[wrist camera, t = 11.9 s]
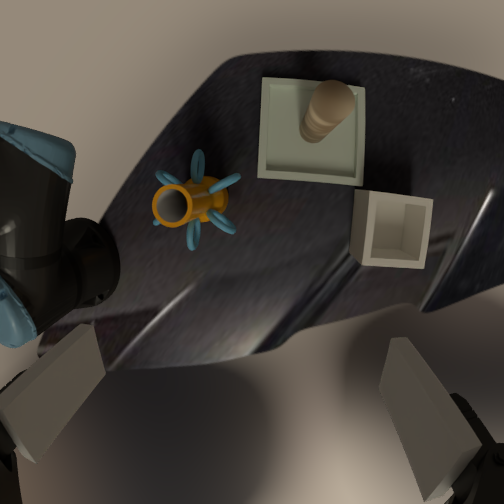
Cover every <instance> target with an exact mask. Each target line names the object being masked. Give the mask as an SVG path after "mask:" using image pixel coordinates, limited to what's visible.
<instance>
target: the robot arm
mask: <svg viewBox="0 0 504 504" xmlns="http://www.w3.org/2000/svg"><path fill="white" fill-rule="evenodd" d="M75 158H76V152H75V148H74V146H73V145H72V143H70V142H69V141H67V140H64V139H62V138H59V137H56V136H53V135H50V134H46V133H43V132H40V131H37V130H33V129H30V128H26V127H22V126H18V125H14V124H10V123H7V122H2V121H0V343H1V344H2V345H4V346H6V347H9V348H17V347H20V346H22V345H24V344H25V343H27V342H28V341H30V340H34V339H35V338H36V337H37V336H38V335H40V334H41V333H42V332H44V331H45V330H46V329H48V328H49V327H50V326H52V325H53V324H54V323H56V322H57V321H58V320H60V319H61V318H62V317H64V316H65V315H66V314H68V313H69V312H70V311H72V310H73V309H79V308H87V307H93V306H96V305H98V304H100V303H102V302H103V301H105V300H106V299H107V298H109V297H110V296H111V295H112V294H113V292H114V291H115V289H116V287H117V284H118V281H119V276H120V262H119V256H118V252H117V249H116V247H115V244H114V242H113V240H112V239H111V237H110V236H109V234H108V233H107V232H106V230H105V229H104V228H103V227H102V226H100V225H99V224H98V223H96V222H95V221H92V220H90V219H87V218H75V219H71V220H67V221H65V218H66V211H67V205H68V199H69V194H70V188H71V184H72V183H73V179H72V175H73V169H74V163H75ZM105 374H106V373H105V370H104V366H103V362H102V359H101V355H100V351H99V347H98V343H97V339H96V335H95V331H94V326H92V325H86V324H80V325H79V326H77V327H76V328H75V329H74V330H73V331H71V332H70V333H69V334H68V335H67V336H65V337H64V338H63V339H62V340H61V341H59V342H58V343H57V344H56V345H55V346H54V347H52V348H51V349H50V350H49V351H48V352H47V353H45V354H44V355H43V356H42V357H41V358H40V359H39V360H38V361H36V362H35V363H34V364H33V365H32V366H31V367H29V369H26V370H24V371H22V372H20V373H19V374H17V375H16V376H15V377H14V378H13V379H12V381H10V382H9V383H7V384H6V386H4V387H3V388H2V389H1V390H0V504H22V498H21V493H20V486H19V477H18V468H17V458H16V454H15V452H14V451H13V450H14V449H15V448H16V447H17V448H18V449H19V451H20V452H21V454H22V455H23V457H25V458H27V459H29V460H30V461H32V462H34V463H36V464H37V463H38V462H39V460H40V459H41V457H42V456H43V455H44V453H45V452H46V451H47V449H48V448H49V447H50V445H51V444H52V442H53V441H54V440H55V439H56V437H57V436H58V434H59V433H60V432H61V430H62V429H63V428H64V427H65V425H66V424H67V423H68V421H69V420H70V419H71V417H72V416H73V415H74V413H75V412H76V411H77V410H78V408H79V407H80V406H81V404H82V403H83V402H84V401H85V399H86V398H87V397H88V395H89V394H90V393H91V391H92V390H93V389H94V388H95V386H96V385H97V384H98V383H99V381H100V380H101V379H102V378H103V376H104V375H105ZM378 389H379V391H380V394H381V395H382V398H383V400H384V402H385V405H386V407H387V409H388V412H389V414H390V416H391V419H392V421H393V423H394V426H395V428H396V431H397V433H398V435H399V438H400V440H401V443H402V445H403V448H404V450H405V453H406V455H407V457H408V460H409V463H410V465H411V468H412V470H413V473H414V476H415V478H416V481H417V484H418V486H419V489H420V492H421V495H422V497H423V500H424V502H426V501H429V500H432V499H435V498H438V497H441V496H443V495H444V494H445V493H446V492H447V491H448V490H449V488H450V487H452V489H453V491H454V494H453V495H452V496H451V497H450V498H449V499H448V500H447V501H446V502H445V503H444V504H504V443H496V442H495V441H494V439H493V438H492V436H491V435H490V433H489V432H488V430H487V429H486V427H485V426H484V425H483V423H482V421H481V420H480V419H479V418H477V414H476V413H475V412H474V410H473V411H472V407H471V406H470V405H469V403H468V402H467V400H466V399H464V398H463V397H461V396H460V395H459V394H457V393H453V394H448V392H447V391H446V390H445V388H444V387H443V385H442V384H441V382H440V381H439V380H438V378H437V377H436V376H435V374H434V373H433V372H432V370H431V369H430V367H429V366H428V365H427V363H426V362H425V361H424V359H423V358H422V357H421V355H420V354H419V353H418V351H417V350H416V349H415V347H414V346H413V345H412V343H411V342H410V341H409V339H408V338H407V337H401V338H392V339H391V341H390V346H389V350H388V354H387V358H386V362H385V366H384V370H383V373H382V377H381V381H380V384H379V388H378Z"/></svg>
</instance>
